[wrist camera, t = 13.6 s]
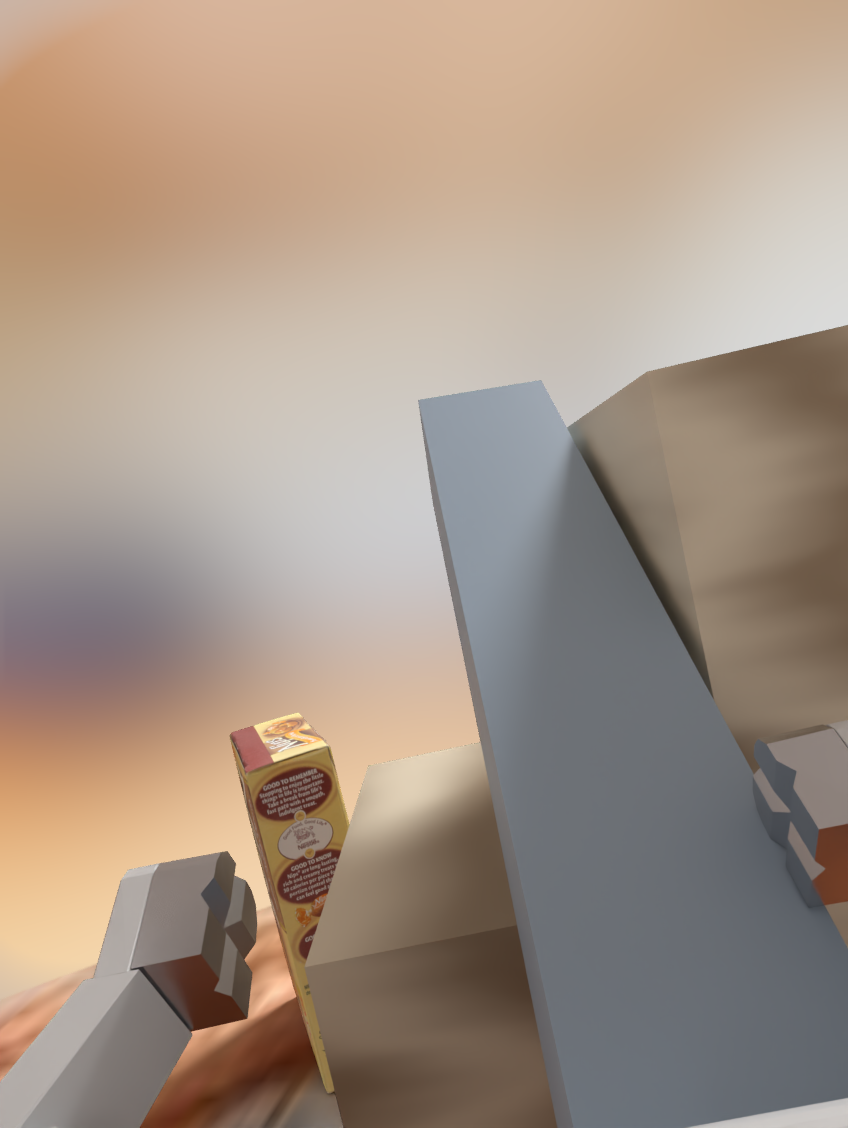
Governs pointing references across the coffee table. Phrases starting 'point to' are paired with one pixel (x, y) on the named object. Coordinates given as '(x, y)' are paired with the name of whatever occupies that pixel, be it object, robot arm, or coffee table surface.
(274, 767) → the candy box
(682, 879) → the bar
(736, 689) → the stand
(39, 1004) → the coffee table surface
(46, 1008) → the coffee table surface
